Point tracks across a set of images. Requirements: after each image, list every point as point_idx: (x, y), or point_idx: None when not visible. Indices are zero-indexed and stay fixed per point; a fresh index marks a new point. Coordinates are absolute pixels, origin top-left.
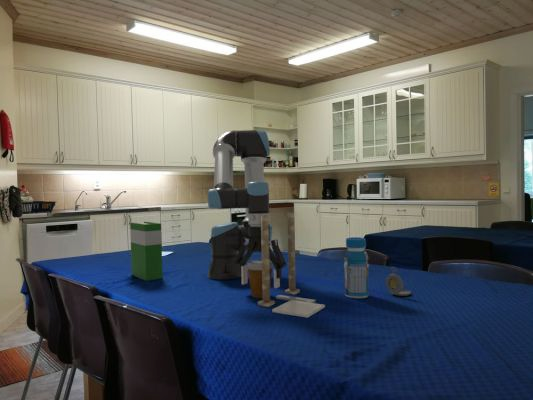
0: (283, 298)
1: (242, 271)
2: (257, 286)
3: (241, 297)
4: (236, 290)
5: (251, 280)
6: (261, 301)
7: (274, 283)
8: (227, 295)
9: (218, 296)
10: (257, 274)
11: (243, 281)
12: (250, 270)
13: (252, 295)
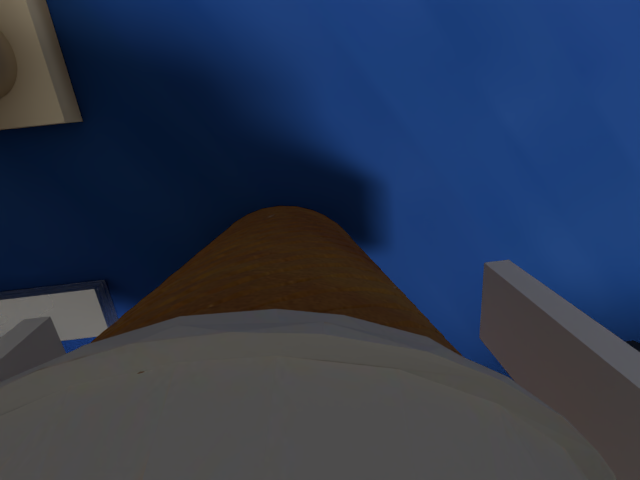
0: (22, 293)
1: (625, 365)
2: (225, 235)
3: (394, 137)
4: (573, 294)
5: (316, 245)
6: (8, 19)
7: (2, 352)
8: (560, 117)
9: (626, 31)
10: (145, 305)
11: (503, 283)
12: (332, 314)
13: (319, 214)
